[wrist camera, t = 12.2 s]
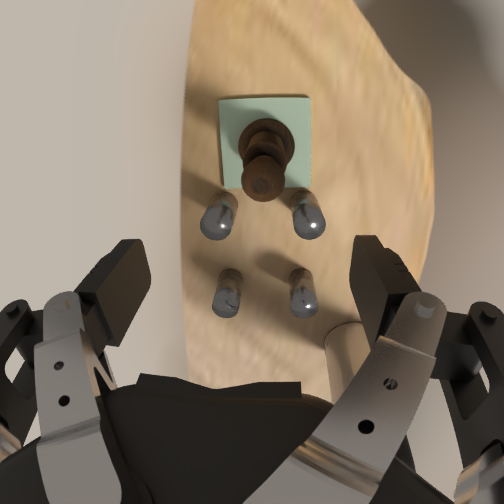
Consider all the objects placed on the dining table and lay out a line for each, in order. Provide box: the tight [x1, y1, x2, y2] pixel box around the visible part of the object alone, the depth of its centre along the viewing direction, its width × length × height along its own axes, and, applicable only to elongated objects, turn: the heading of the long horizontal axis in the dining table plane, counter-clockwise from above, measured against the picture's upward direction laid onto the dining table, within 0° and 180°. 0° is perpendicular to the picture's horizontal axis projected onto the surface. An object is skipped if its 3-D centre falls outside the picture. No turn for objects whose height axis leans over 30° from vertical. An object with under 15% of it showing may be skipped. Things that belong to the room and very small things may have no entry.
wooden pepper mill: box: [238, 118, 295, 202], centre depth 27 cm, size 7×6×18 cm
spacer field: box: [200, 191, 326, 318], centre depth 39 cm, size 14×16×7 cm
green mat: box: [218, 98, 311, 189], centre depth 35 cm, size 11×12×1 cm
